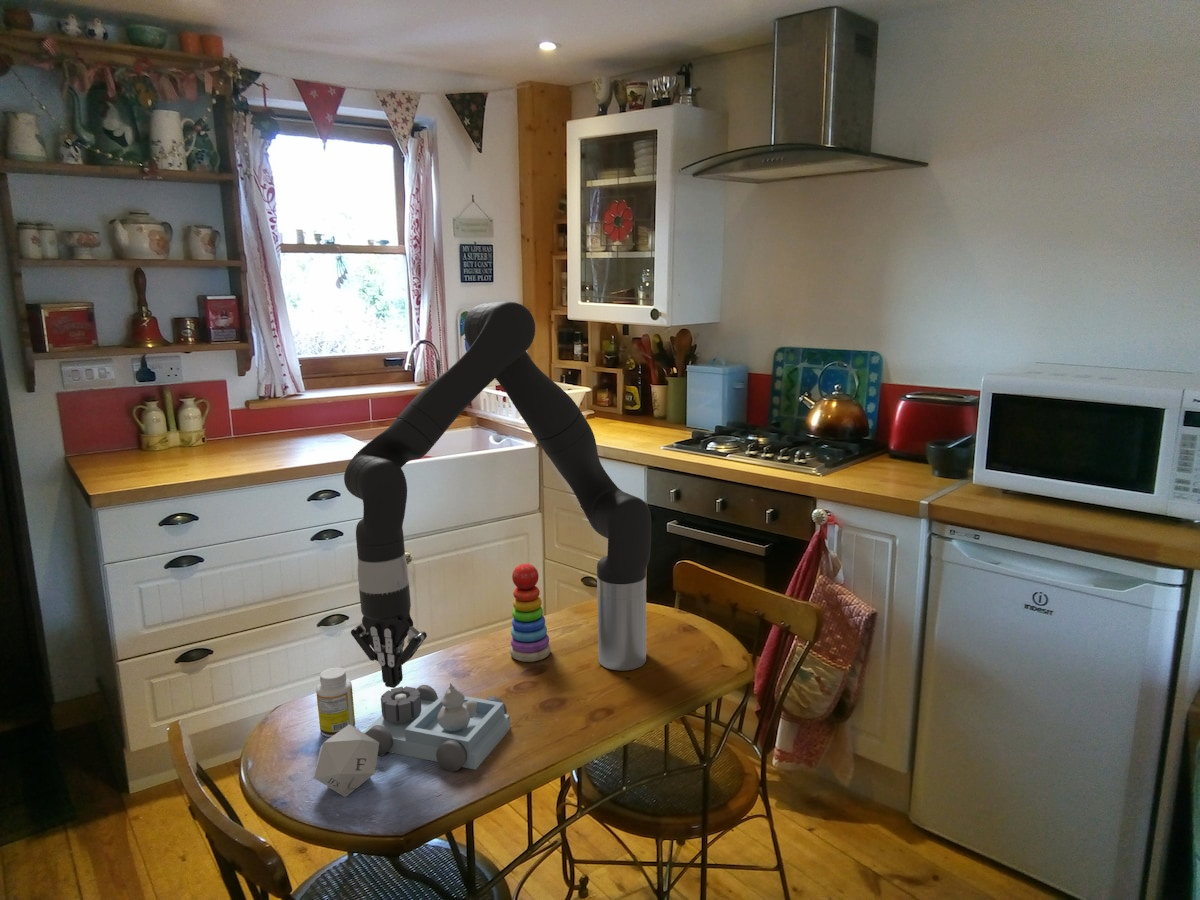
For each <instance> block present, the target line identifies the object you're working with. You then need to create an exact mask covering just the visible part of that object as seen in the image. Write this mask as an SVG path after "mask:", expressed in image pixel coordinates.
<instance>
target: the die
mask: <svg viewBox="0 0 1200 900" xmlns="http://www.w3.org/2000/svg"><path fill="white" fill-rule="evenodd" d="M378 748H379V742H377V741H376V740H374V739H372V738H371V737H369V736H368V735H366V734H364V733H363V731H361V730H359V729H358V728H356V727H353V726H351V725H350V724H349V725H347V726H346V727H345V728H343V729H342V730H340V731H339V732H338V733H336V734H335V735H333V736H332V737H328V739H327V740H325V741H324V742H323V743H322V744H321V746H320V748H319V753H318V758H317V762H316V766H315V771H314V775H313V779H315V780H316V781H318V782H320V783H321V784H323V785H324V786H327V787H328V788H329V789H331V790H333V791H335V793H338V794H339V795H341V796H343V797H344V798H346V797H347V796H349V795H350V794H351V793H352V792H353V791H355V790H357V788H358V787H360V786H362V784H364V783H365V782H366V781H368V780H369V779H370V778H371V777H372V776H373V775H375V773H376V768H377V767H376V766H377V761H378V756H377V755H378Z"/></svg>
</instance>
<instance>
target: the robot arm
mask: <svg viewBox="0 0 1200 900" xmlns="http://www.w3.org/2000/svg"><path fill="white" fill-rule="evenodd" d="M464 319H465V320H464V325H463V333H464V336H465V340H466V342H467V344H468V347H469V348H468V349H467V351H466V352H465V353H464V354H463V355H462V356H461V357H460V358H459V359H458V360H457V361H456V362H455V364H453V365H452V366H451V367H449V368H448V369H447V370H446V371H444V372H443V373H442V374H441V375H439V376H438V377H437V378H435V379H434V380H433V381H431V382H430V383H429V384H428V385H426V386H425V387H424V388H423V389H422V390H421V391H420V392H418V393H417V394H416V395H415V397H414V398H412V400H411V401H410V402H409V403H408V404H407V405H406V406H405V408H404V409H403V410H402V411H401V412H400V413H399V414H398V415H397V416H396V418H395V419H394V420H393V421H392V423H391V424H390V426H389V427H388V428H386V429H385V430H384V431H382V432H380V434H377V436H375V437H374V438H372V440H370V441H369V442H368V443H367V444H366V445H364V446H363V447H362V448H361V449H360V450H359V451H358V452H357V453H356V454H354V456H353V457H351V460H350V461H349V462H348V464H347V466H346V469H345V470H344V476H343V481H344V485H345V488H346V490H347V491H348V492H349V494H351V495H352V496H353V497H356V498H357V499H359V500H362V504H363V514H362V515H363V518H362V519H360V520H359V521H358V522H357V524H356V527H355V540H356V543H355V544H356V551H357V579H358V580H357V581H358V591H359V602H360V612H361V614H362V618H361V623H360V624H358V625H356V626H355V627H353V629H351V630H350V635H351V636H352V637H353V639H354V640H355V641H356V643H357V644H358V645H359V647H360V648H361V649H362V651H363V652H364V653H365V655H366V656H367V658H368V659H369V660H370V661H371V662H374V661H376V662H378V664H379V665H380V668H381V676H382V677H381V678H382V682H383V683H384V685H385V687H386V688H391V689H394V688H397V686H399V685H400V683H401V682H402V681H403V678H404V677H403V676H404V675H403V665H404V664H406V663H407V662H408V661H409V660H410V659H412V657H413V656H414V654H416V652H417V651H418V650H419V648H420V647H421V645H422V644H423V643H424V641H425V640H426V639H427V637H428V635H427V633H426V632H425V631H418V629H416V628H415V627H414V621H413V618H412V617H411V614H410V612H411V607H412V603H411V601H412V600H411V591H410V579H409V578H410V577H409V567H408V562H407V558H406V550H405V537H404V530H403V523H404V521H405V520H404V519H405V514H406V507H407V498H408V485H407V479H406V475H405V473H404V471H403V469H402V468H403V467H404V466H405V465H406V464H407V463H409V462H410V461H414V460H419V459H421V458H423V457H425V456H426V455H427V454H428V453H429V452H430V451H431V449H432V448H433V447H434V446H435V445H436V443H437V442H438V441H439V440H440V439H441V437H442V436H443V435H444V434H445V432H446V431H447V430H448V429H449V427H451V425H452V424H453V423H454V421H455V420H456V419H457V418H458V417H459V416H460V415H461V414H462V412H463V411H464V410H465V409H466V408H467V407H468V406H469V405H470V404H471V402H473V401H474V399H476V397H477V396H478V395H479V394H480V393H482V391H483V390H484V389H486V387H488V386H489V385H490V384H491V383H492V382H493V381H494V380H496V381H497V383H499V385H500V386H501V387H502V389H503V391H504V392H505V393H506V395H507V396H508V398H509V399H510V401H511V403H512V405H513V406H514V407H515V409H516V410H517V412H518V413H519V415H520V417H522V419H523V421H524V422H525V424H526V426H527V427H528V429H529V430H530V432H531V433H532V435H533V437H534V438H535V440H536V441H537V443H538V444H539V446H540V447H541V448H542V449H541V450H543V452H544V453H545V455H547V457H548V458H549V460H550V461H551V462H552V464H553V465H554V467H555V468H556V470H557V471H558V472H559V474H560V475H561V476H562V478H563V479H564V480H565V481H566V483H567V485H569V487H570V489H572V491H573V493H574V494H573V495H575V497H576V499H577V501H578V503H579V505H580V507H581V509H582V510H583V512H584V515H585V516H586V518H587V521H588V523H589V524H590V526H591V528H592V529H593V530H594V531H595V532H596V533H597V534H598V535H600V536H602V537H604V538H605V539H607V555H606V556H603V557H601V558H600V559H599V560H598V561H597V564H596V584H597V585H596V590H597V596H596V597H597V644H598V645H597V649H598V650H597V651H598V653H597V655H598V663H599V665H601V666H602V667H604V668H606V669H609V670H613V671H622V672H623V671H625V672H626V671H632V670H636V669H638V668H639V669H640V668H641V667H642V666H644V665H645V663H646V662H647V578H646V577H647V567H648V565H649V562H650V559H651V558H650V557H651V550H652V549H651V547H652V545H651V544H652V514H651V511H650V507H649V506H648V504H647V503H646V502H645V501H644V500H643V499H642V498H639V497H637V496H635V495H633V494H630V493H628V492H624V491H623V490H621V489H620V488H619V487H618V486H617V485H616V483H615V482H614V481H613V479H612V478H611V477H610V476H609V475H608V473H607V472H606V470H605V468H604V466H603V465H602V463H601V461H600V458H599V455H598V454H599V453H598V447H597V446H598V445H597V442H596V437H595V434H594V431H593V429H592V427H591V426H590V424H589V422H588V420H587V419H586V417H585V416H584V414H583V413H582V411H581V409H580V407H578V404H577V403H576V402H575V401H574V400H573V399H572V397H571V396H570V395H569V394H567V393H566V391H565V390H563V389H562V388H561V387H560V386H559V385H558V384H557V383H556V382H555V381H553V380H552V379H551V378H550V377H549V376H547V374H545V373H544V372H543V371H542V370H541V369H540V368H539V367H538V366H537V364H536V363H535V362H534V361H533V360H532V358H531V357H530V355H529V353H528V349H529V348H530V347H531V345H532V344H533V343H534V340H535V335H536V322H535V319H534V316H533V315H532V313H531V311H530V310H529V309H528V308H527V307H525V306H524V305H523V304H520V303H517V302H516V301H515V302H514V301H507V300H506V301H495V302H485V303H481V304H478V305H476V306H474V307H473V308H471V309H470V310H469V311H468V313H467V315H466V316H465V318H464ZM407 636H408V637H407ZM405 639H407V640H406V643H407V645H406V647H405ZM404 647H405V648H404Z"/></svg>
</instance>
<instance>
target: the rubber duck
mask: <svg viewBox="0 0 1200 900" xmlns="http://www.w3.org/2000/svg"><path fill="white" fill-rule="evenodd" d="M444 693H445V695H444V697H443V698H442V700H441V703H442V704H443V706H442V708H441V710H440V711H439V713H438V716H437V721H438V723H439V725H440V726H441V727H442V728H444V729H445V730H447V731H451V732H454V731H458V730H461V729H463V728H465V727H467V726H468V724H469V721H470V718H473V717H475V716H476V707H477V702H476V701H475V700H469V701H467V702H465V703H464V699H465V697H464V696H465V695H464V693H463V692H462V691H461V690H460V689H459V688H457V687H455V686H454V685H453V684H452V683H451V682H450V683H449V687H448V688H447V690H445V692H444Z"/></svg>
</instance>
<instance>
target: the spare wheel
mask: <svg viewBox="0 0 1200 900" xmlns="http://www.w3.org/2000/svg"><path fill="white" fill-rule="evenodd" d="M398 694H406V699H405V700H400V701H397V700H395V696H396V695H398ZM380 706H381V716H383V718H384V720H386V721H389V722H394V723H397V722H398V721H399V722H400V723H401V722H405V721H409V720H412V718H414V719H415V718H416V717H417V716H418V715H419V714H420V713H421V697H420V693H419V691H418V689H417V687H411V686H404V687H403V686H399V687H395V688H391V689H390V690H387V691H385V692H384V693H383V694H382V695H381V697H380Z"/></svg>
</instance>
